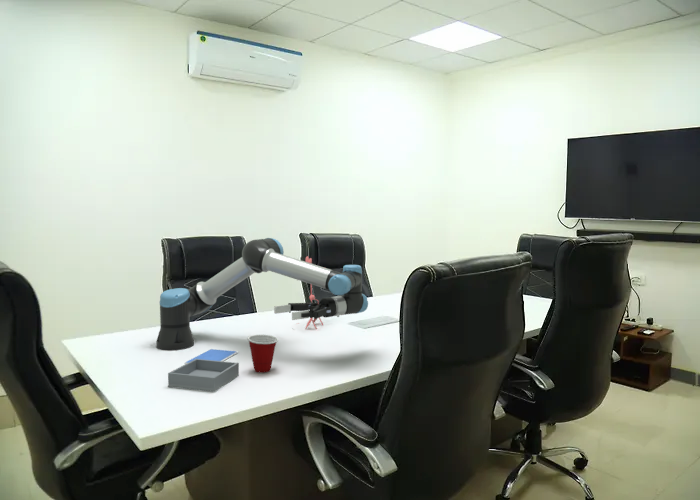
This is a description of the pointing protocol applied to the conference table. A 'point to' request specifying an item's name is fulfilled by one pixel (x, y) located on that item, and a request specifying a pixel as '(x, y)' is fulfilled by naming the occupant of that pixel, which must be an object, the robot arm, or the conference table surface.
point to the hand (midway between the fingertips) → (283, 312)
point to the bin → (203, 375)
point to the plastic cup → (262, 351)
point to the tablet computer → (214, 355)
